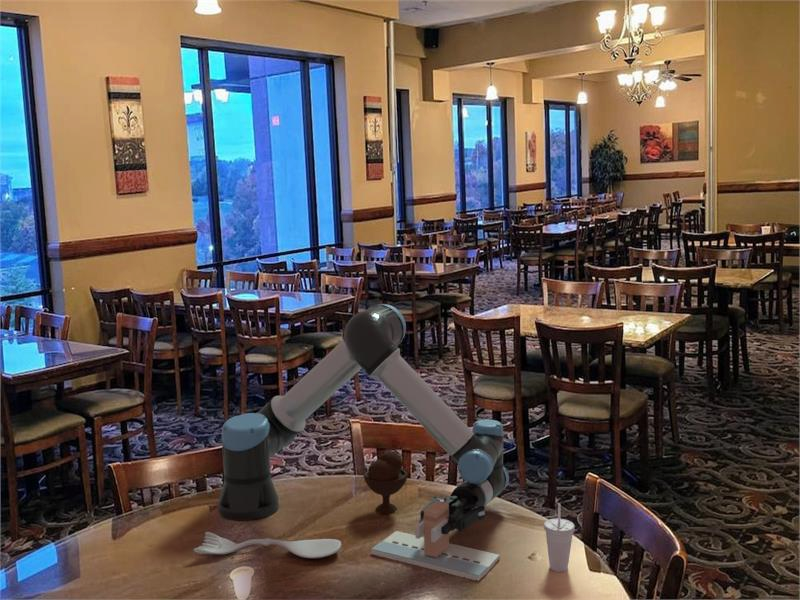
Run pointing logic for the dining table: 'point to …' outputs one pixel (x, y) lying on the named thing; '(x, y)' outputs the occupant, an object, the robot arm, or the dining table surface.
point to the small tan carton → (431, 519)
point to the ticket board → (449, 561)
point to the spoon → (299, 548)
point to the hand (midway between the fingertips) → (424, 534)
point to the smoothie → (559, 541)
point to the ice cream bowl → (386, 479)
